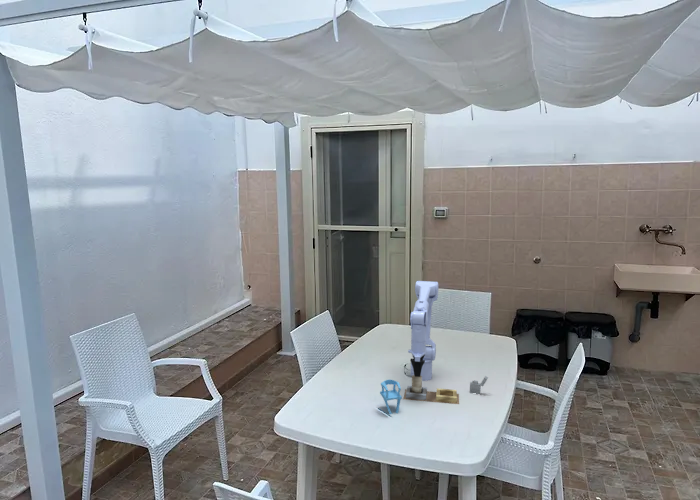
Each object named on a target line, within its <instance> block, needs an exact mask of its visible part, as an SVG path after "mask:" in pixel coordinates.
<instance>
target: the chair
mask: <svg viewBox="0 0 700 500" xmlns="http://www.w3.org/2000/svg"><path fill="white" fill-rule="evenodd" d="M387 385H392V389H391V390H389V389H388V386H387ZM380 386H381V391H379V394H380V396H381V397H382V398H383V402H384V404H385V406H386V409H387V412H388V413H387V412H386V411H383V410H382V409H381V408H380V407H377V409H378V410H379V411H380V412H382V413H383V414H386V415H387V416H389V417H390V418H392V417H393V416H392V414H393V413H392V411H391V408H390V406H389V403H388V401H392V400H397V401H396V409H395V414H399V410H400V405H401V404H400V403H401V400H403V397H402V395H401V394H400V393H401V389H402V388H401V385H400V382H399V381H396V380H393V379H386V380H383V381H382V382H381V383H380ZM396 386H397V388H398V391H397V390H396Z"/></svg>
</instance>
